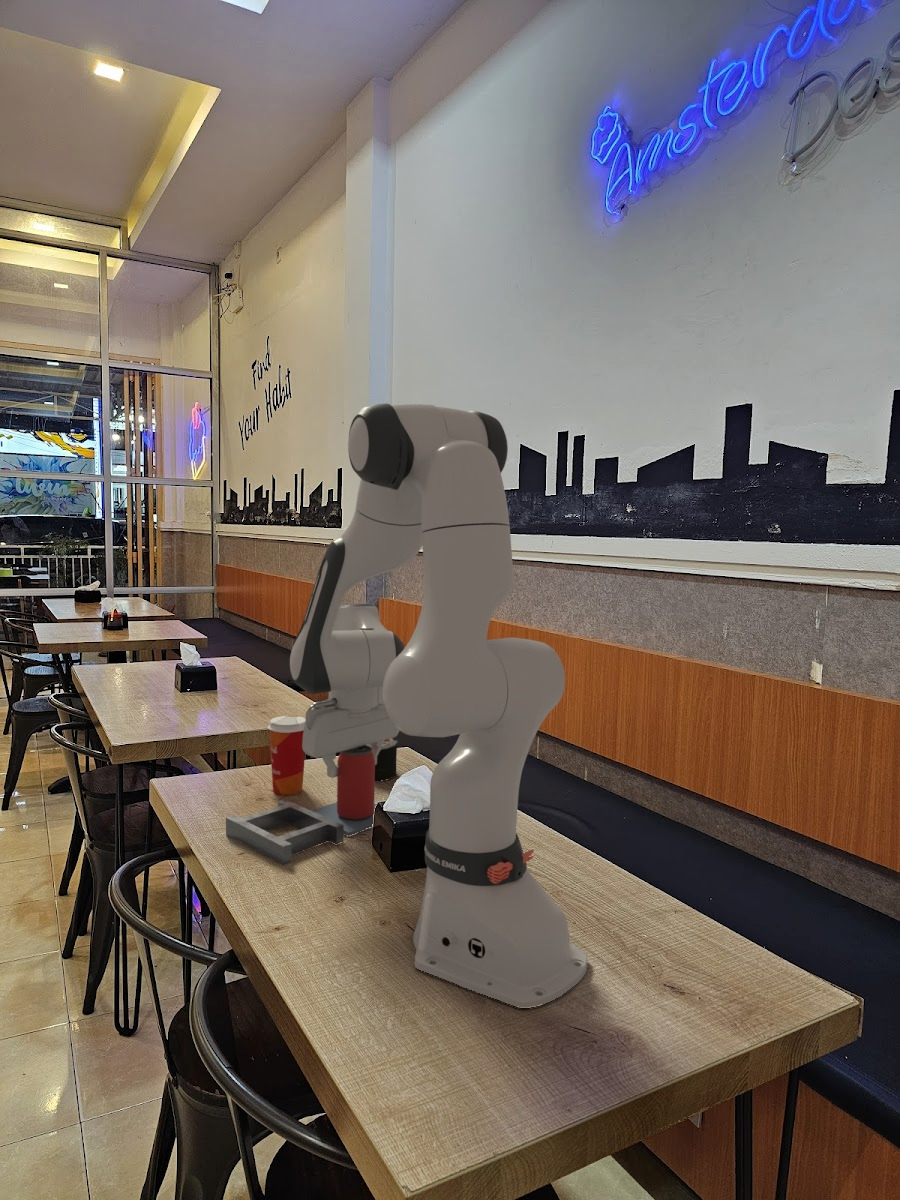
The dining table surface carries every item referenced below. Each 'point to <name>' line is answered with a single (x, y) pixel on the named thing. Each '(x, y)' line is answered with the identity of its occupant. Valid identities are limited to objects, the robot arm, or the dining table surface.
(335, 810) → the rubber mat
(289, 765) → the paper cup
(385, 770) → the sushi
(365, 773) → the beer can
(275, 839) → the frame
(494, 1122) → the dining table surface
